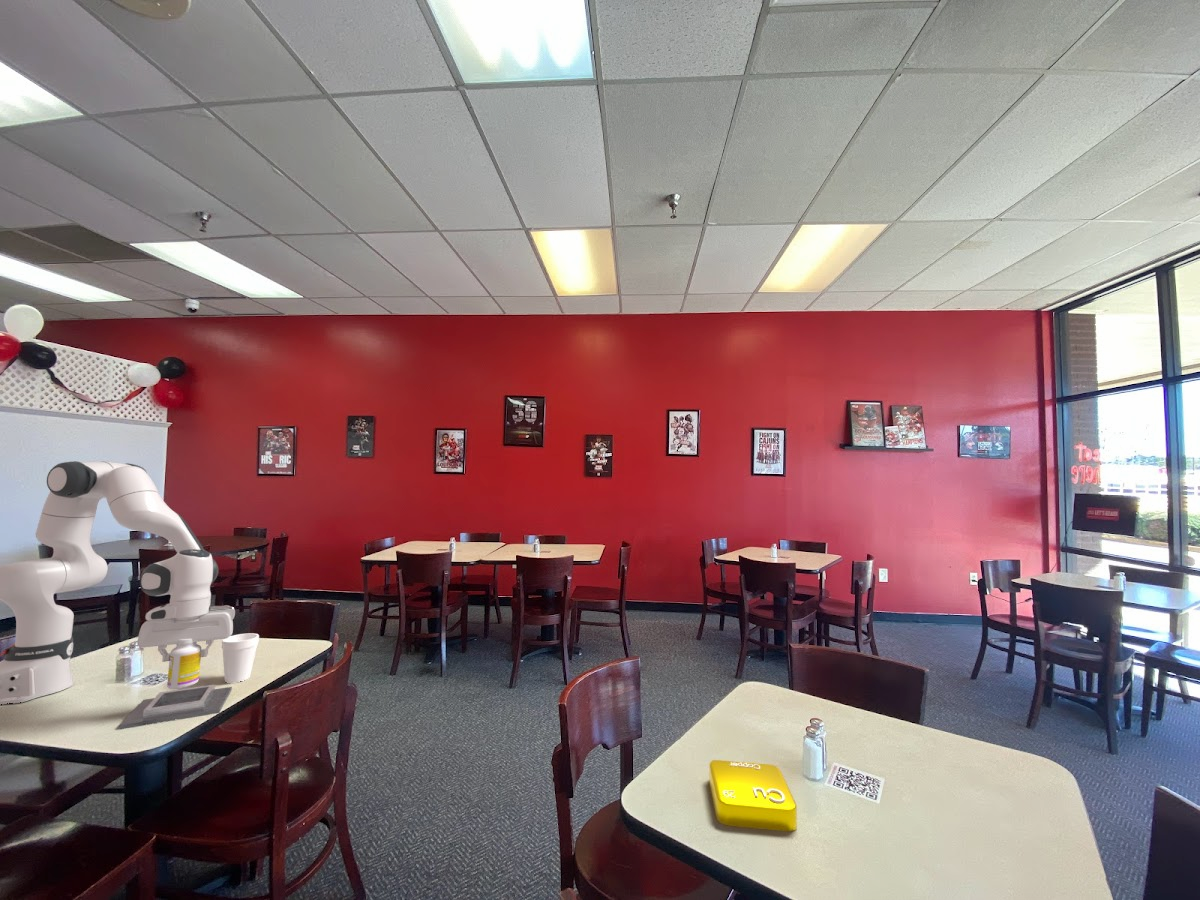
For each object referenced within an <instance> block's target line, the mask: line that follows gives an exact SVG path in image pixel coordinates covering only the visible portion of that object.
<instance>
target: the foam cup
mask: <svg viewBox="0 0 1200 900" xmlns="http://www.w3.org/2000/svg"><path fill="white" fill-rule="evenodd" d="M259 639H260V635H259V634H258V633H253V632H252V633H251V632H250V633H249V632H248V633H239V634H232V635H231V636H230V637H228V638H227V639H221V641H222V642H221V649H222V659H223V660H222V661H223V676H224V677H223V678H224V683H225V682H228V683H227V684H229V683H231V684H234V683H233V682H239V683H241V682H240V681H243V682H245V681H244V680H246V679H248V678H249V677H250V678H251V674H252V670H253V666H254V661H255V657H256V653H257V648H258V644H259V643H260V642H259V641H260V640H259ZM250 678H249V679H250ZM249 679H248V680H249ZM246 681H247V680H246Z"/></svg>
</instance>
